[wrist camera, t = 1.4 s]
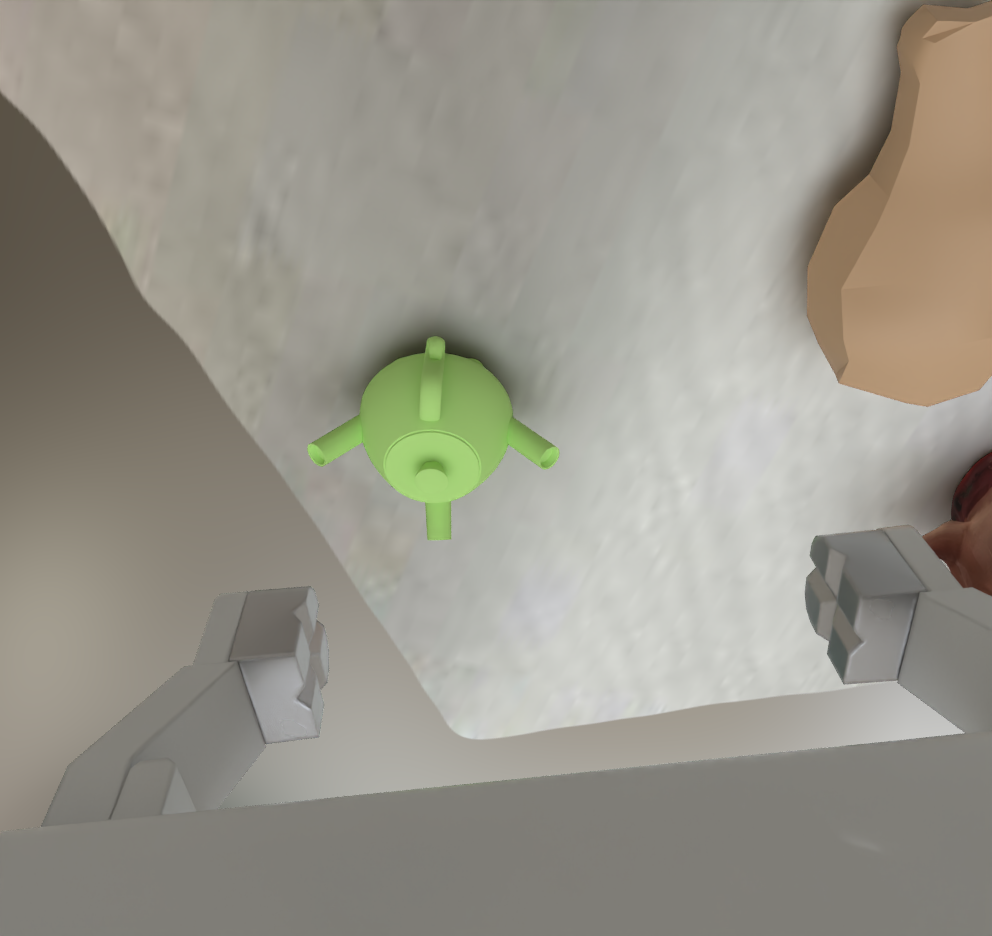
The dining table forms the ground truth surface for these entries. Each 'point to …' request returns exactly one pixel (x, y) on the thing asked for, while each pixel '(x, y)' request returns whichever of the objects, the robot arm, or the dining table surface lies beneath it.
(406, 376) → the teapot
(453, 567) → the dining table surface
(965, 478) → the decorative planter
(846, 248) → the squash
